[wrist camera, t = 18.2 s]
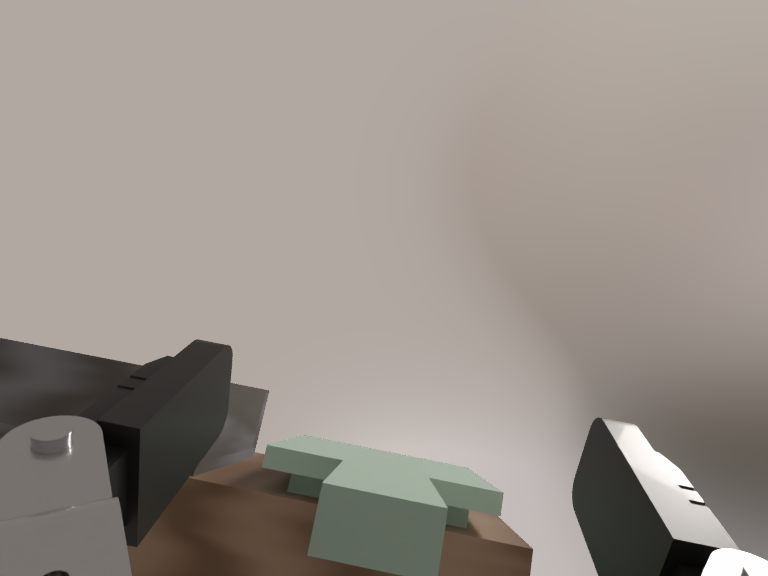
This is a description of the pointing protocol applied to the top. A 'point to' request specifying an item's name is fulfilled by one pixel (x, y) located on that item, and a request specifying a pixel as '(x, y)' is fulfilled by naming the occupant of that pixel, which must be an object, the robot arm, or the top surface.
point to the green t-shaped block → (380, 502)
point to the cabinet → (227, 487)
